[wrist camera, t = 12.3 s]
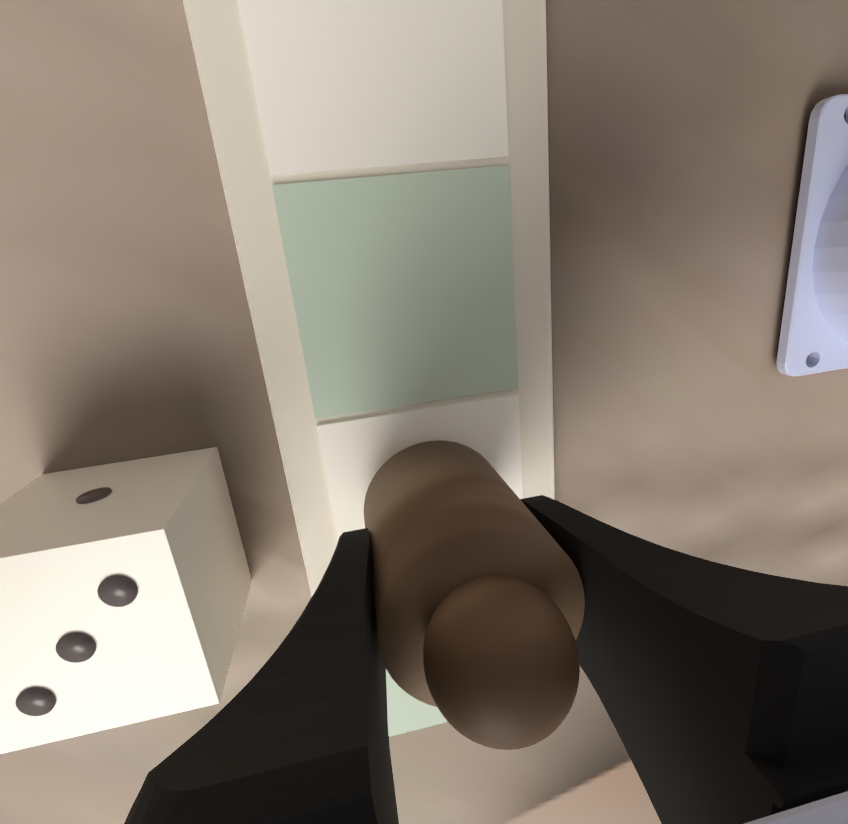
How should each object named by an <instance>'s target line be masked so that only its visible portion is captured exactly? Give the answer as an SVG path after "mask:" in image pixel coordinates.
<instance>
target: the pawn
mask: <svg viewBox="0 0 848 824" xmlns="http://www.w3.org/2000/svg"><path fill="white" fill-rule="evenodd" d="M364 523H365V528H368V531H369V539H370V547H371V555H372V581H373V598H374V610H375V619H376V627H377V636H378V645H379V650H380V654H381V658H382V660H383V663H384V665H385V668H386V669H387V671H388V673H389V674H390V676H391V678H392V679H393V680H394V681H395V682H396V683H397V685H398V686H399V687H400V688H402V689H403V690H404V691H405V692H406V693H408V694H409V695H411V696H412V697H414V698H415V699H417V700H419V701H421V702H424V703H426V704H428V705H431V706H435V707H438V709H439V711H440V712H441V713H442V715H443V716H444V717H445V719H446V720H447V721H448V722H449V723H450V724H451V725H452V726H453V727H454V728H455V729H456V730H457V731H458V732H460V733H461V734H462V735H464V736H465V737H467V738H469V739H470V740H472V741H473V742H476V743H478V744H481V745H483V746H486V747H490V748H494V749H506V750H512V749H520V748H524V747H528V746H531V745H533V744H535V743H537V742H539V741H541V740H543V739H544V738H546V737H547V736H549V735H550V734H551V733H552V732H554V731H555V730H556V729H557V728H558V726H559V725H560V724H561V723H562V721H563V720H564V719H565V717H566V716H567V714H568V713H569V711H570V709H571V707H572V704H573V701H574V698H575V696H576V693H577V688H578V682H579V672H580V670H579V655H578V650H577V645H576V639H577V637H578V634H579V631H580V628H581V626H582V621H583V616H584V607H585V597H584V589H583V584H582V580H581V577H580V575H579V572H578V570H577V568H576V567H575V565H574V563H573V562H572V560H571V559H570V557H569V556H568V555H567V554H566V553H565V552H564V550H563V549H562V548H561V547H560V546H559V545H558V543H557V542H556V541H555V540H554V539H553V537H552V536H551V535H550V534H549V533H548V532H547V530H546V529H545V528H544V527H543V526H542V525H541V523H540V522H539V521H538V520H537V519H536V518H535V516H534V515H533V514H532V513H531V512H530V510H529V509H528V508H527V507H526V506H525V505H524V503H523V502H522V501H521V500H520V499H519V498H518V496H517V495H516V494H515V493H514V492H513V490H512V489H511V488H510V487H509V486H508V485H507V483H506V482H505V481H504V480H503V479H502V478H501V476H500V475H499V474H498V473H497V472H496V471H495V469H494V468H493V467H492V466H491V465H490V463H489V462H488V461H487V460H486V459H485V458H484V457H483V456H482V455H481V454H479V453H478V452H476V451H475V450H473V449H472V448H470V447H468V446H465V445H463V444H460V443H456V442H451V441H441V440H436V441H426V442H422V443H418V444H415V445H412V446H409V447H407V448H405V449H403V450H401V451H399V452H398V453H396V454H395V455H393V456H392V457H391V458H390V459H388V460H387V461H386V462H385V463H384V464H383V465H382V466H381V467H380V468H379V470H378V471H377V473H376V474H375V475H374V477H373V479H372V481H371V482H370V484H369V487H368V489H367V492H366V496H365V501H364Z"/></svg>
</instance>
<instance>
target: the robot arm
mask: <svg viewBox="0 0 848 824" xmlns="http://www.w3.org/2000/svg"><path fill="white" fill-rule="evenodd" d="M845 112H846V118H845V120H844V113H845ZM807 356H808V359H807ZM806 359H807V361H806ZM844 368H848V94H838V95H835V96H832V97H829V98H826V99H823V100H821V101H820V102H819V103H817V104H816V105H815V107H814V109H813V110H812V112H811V115H810V119H809V125H808V132H807V139H806V147H805V154H804V162H803V169H802V176H801V184H800V191H799V199H798V206H797V213H796V221H795V228H794V236H793V243H792V251H791V258H790V265H789V273H788V280H787V288H786V295H785V302H784V310H783V317H782V325H781V332H780V339H779V347H778V354H777V369H778V371H779V372H780V373H782V374H784V375H789V376H801V375H807V374H814V373H820V372H826V371H832V370H838V369H844ZM520 500H521V501H522V502H523V503H524V505H525V506H526V507H527V508H528V509H529V510H530V512H531V513H532V514H533V515H534V516H535V518H536V519H537V520H538V521H539V522H540V523H541V525H542V526H543V527H544V528H545V529H546V530H547V532H548V533H549V534H550V535H551V536H552V537H553V539H554V540H555V541H556V542H557V543H558V545H559V546H560V547H561V548H562V549H563V550H564V552H565V553H566V554H567V555H568V556H569V557H570V559H571V560H572V562H573V563H574V565H575V567H576V568H577V570H578V572H579V575H580V577H581V580H582V584H583V589H584V597H585V607H584V616H583V621H582V626H581V628H580V631H579V634H578V637H577V639H576V645H577V650H578V655H579V664H580V666H581V668H582V669H583V671H584V672H585V674H586V675H587V677H588V678H589V680H590V682H591V684H592V685H593V687H594V689H595V690H596V692H597V694H598V695H599V697H600V699H601V701H602V703H603V705H604V707H605V709H606V711H607V713H608V715H609V717H610V719H611V720H612V722H613V724H614V726H615V728H616V730H617V732H618V734H619V736H620V738H621V740H622V742H623V744H624V746H625V748H626V750H627V752H628V754H629V756H630V758H631V760H632V762H633V764H634V766H635V768H636V770H637V772H638V774H639V777H640V779H641V781H642V782H643V785H644V787H645V789H646V791H647V793H648V795H649V797H650V800H651V802H652V804H653V806H654V808H655V810H656V812H657V814H658V817H659V819H660V821H661V823H662V824H848V586H839V585H830V584H822V583H814V582H808V581H802V580H796V579H790V578H785V577H779V576H773V575H768V574H763V573H758V572H753V571H748V570H744V569H740V568H736V567H732V566H728V565H723V564H719V563H715V562H711V561H708V560H704V559H701V558H697V557H694V556H690V555H687V554H684V553H681V552H678V551H675V550H672V549H668V548H665V547H662V546H660V545H657V544H654V543H651V542H649V541H646V540H644V539H641V538H639V537H636V536H634V535H631V534H628V533H626V532H624V531H621V530H619V529H617V528H614V527H612V526H610V525H607V524H605V523H603V522H601V521H599V520H596V519H594V518H592V517H590V516H588V515H586V514H584V513H582V512H579V511H577V510H575V509H573V508H571V507H569V506H567V505H565V504H563V503H560V502H558V501H556V500H554V499H551V498H549V497H546V496H544V495H540V496H534V497H529V498H524V499H520ZM124 824H399V822H398V814H397V806H396V798H395V790H394V782H393V773H392V765H391V757H390V749H389V735H388V717H387V689H386V668H385V665H384V663H383V660H382V658H381V654H380V650H379V645H378V636H377V627H376V619H375V610H374V598H373V581H372V555H371V547H370V539H369V531H368V528H364V529H359V530H354V531H348V532H343V533H342V535H341V536H340V537H339V540H338V543H337V546H336V549H335V551H334V554H333V556H332V558H331V561H330V563H329V565H328V567H327V569H326V571H325V573H324V575H323V577H322V579H321V581H320V583H319V585H318V587H317V589H316V591H315V593H314V594H313V596H312V598H311V599H310V601H309V603H308V605H307V606H306V608H305V610H304V611H303V613H302V615H301V616H300V618H299V619H298V621H297V622H296V624H295V625H294V627H293V628H292V630H291V631H290V633H289V634H288V635H287V637H286V638H285V639H284V641H283V642H282V643H281V645H280V646H279V647H278V649H277V650H276V651H275V652H274V654H273V655H272V656H271V657H270V659H269V660H268V661H267V662H266V663H265V665H264V666H263V667H262V668H261V669H260V670H259V672H258V673H257V674H256V675H255V676H254V677H253V679H252V680H251V681H250V682H249V683H248V684H247V685H246V686H245V687H244V688H243V689H242V690H241V691H240V692H239V693H238V694H237V695H236V696H235V697H234V698H233V699H232V700H231V701H230V702H229V703H228V704H227V705H226V706H225V707H224V708H223V709H222V710H221V711H220V712H219V713H218V714H217V715H216V716H215V717H214V718H213V719H211V720H210V721H209V722H208V723H207V724H206V725H205V726H204V727H203V728H202V729H200V730H199V731H198V732H197V733H196V734H194V735H193V736H192V737H191V738H190V739H189V740H187V741H186V742H185V743H184V744H183V745H181V746H180V747H179V748H178V749H177V750H176V751H174V752H173V753H172V754H171V755H170V756H168V757H167V758H166V759H165V760H164V761H162V762H161V763H160V764H159V765H157V766H156V767H155V768H154V769H152V770H151V771H150V772H149V773H148V774H147V777H146V779H145V781H144V783H143V786H142V788H141V790H140V792H139V794H138V796H137V798H136V800H135V802H134V804H133V806H132V808H131V810H130V812H129V814H128V817H127V819H126V821H125V823H124Z"/></svg>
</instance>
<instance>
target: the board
mask: <svg viewBox="0 0 848 824" xmlns="http://www.w3.org/2000/svg"><path fill="white" fill-rule="evenodd" d="M183 4H184V8H185V13H186V17H187V22H188V27H189V31H190V36H191V41H192V45H193V50H194V54H195V59H196V64H197V68H198V73H199V78H200V82H201V87H202V92H203V96H204V101H205V105H206V110H207V115H208V119H209V124H210V129H211V133H212V138H213V142H214V147H215V152H216V156H217V161H218V166H219V170H220V175H221V179H222V184H223V189H224V193H225V198H226V203H227V207H228V212H229V216H230V221H231V226H232V230H233V235H234V240H235V244H236V249H237V253H238V258H239V263H240V267H241V272H242V277H243V281H244V286H245V290H246V295H247V300H248V304H249V309H250V314H251V318H252V323H253V327H254V332H255V337H256V341H257V346H258V351H259V355H260V360H261V364H262V369H263V374H264V378H265V383H266V388H267V392H268V397H269V401H270V406H271V411H272V415H273V420H274V425H275V429H276V434H277V438H278V443H279V448H280V452H281V457H282V462H283V466H284V471H285V475H286V480H287V485H288V489H289V494H290V499H291V503H292V508H293V512H294V517H295V522H296V526H297V531H298V536H299V540H300V545H301V549H302V554H303V559H304V563H305V568H306V573H307V577H308V582H309V586H310V591H311V596H313V594H314V593H315V591H316V589H317V587H318V585H319V583H320V581H321V579H322V577H323V575H324V573H325V571H326V569H327V567H328V565H329V563H330V561H331V558H332V556H333V554H334V551H335V549H336V546H337V543H338V540H339V537H340V536H341V535H342V533H343V532H348V531H354V530H359V529H364V528H365V523H364V501H365V496H366V492H367V489H368V487H369V484H370V482H371V481H372V479H373V477H374V475H375V474H376V473H377V471H378V470H379V468H380V467H381V466H382V465H383V464H384V463H385V462H386V461H387V460H388V459H390V458H391V457H392V456H393V455H395V454H396V453H398V452H399V451H401V450H403V449H405V448H407V447H409V446H412V445H415V444H418V443H422V442H426V441H436V440H441V441H451V442H456V443H460V444H463V445H465V446H468V447H470V448H472V449H473V450H475V451H476V452H478V453H479V454H481V455H482V456H483V457H484V458H485V459H486V460H487V461H488V462H489V463H490V465H491V466H492V467H493V468H494V469H495V471H496V472H497V473H498V474H499V475H500V476H501V478H502V479H503V480H504V481H505V482H506V483H507V485H508V486H509V487H510V488H511V489H512V490H513V492H514V493H515V494H516V495H517V496H518V498H519V499H524V498H529V497H534V496H540V495H544V496H546V497H549V498H551V499H554V500H555V495H554V439H553V383H552V327H551V271H550V215H549V159H548V102H547V46H546V0H183ZM386 689H387V717H388V735H389V737H390V736H394V735H398V734H402V733H406V732H410V731H414V730H418V729H422V728H425V727H429V726H433V725H437V724H441V723H445V722H448V721H447V720H446V719H445V717H444V716H443V715H442V713H441V712H440V711H439V709H438V707H435V706H431V705H428V704H426V703H424V702H421V701H419V700H417V699H415V698H414V697H412V696H411V695H409V694H408V693H406V692H405V691H404V690H403V689H402V688H400V687H399V686H398V685H397V683H396V682H395V681H394V680H393V679H392V678H391V676H390V674H389V673H388V671H387V669H386Z"/></svg>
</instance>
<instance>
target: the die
mask: <svg viewBox="0 0 848 824" xmlns="http://www.w3.org/2000/svg"><path fill="white" fill-rule="evenodd" d="M251 581H252V579H251V575H250V571H249V567H248V563H247V560H246V556H245V552H244V548H243V544H242V540H241V537H240V533H239V529H238V525H237V521H236V517H235V514H234V510H233V506H232V502H231V498H230V494H229V491H228V487H227V483H226V479H225V475H224V471H223V468H222V464H221V460H220V456H219V452H218V448H217V447H213V448H207V449H200V450H194V451H188V452H181V453H175V454H168V455H162V456H156V457H149V458H143V459H137V460H130V461H124V462H117V463H111V464H105V465H98V466H92V467H86V468H79V469H73V470H66V471H60V472H54V473H47V474H42V475H41V476H40V477H38V478H37V479H35V480H34V481H33V482H31V483H30V484H28V485H27V486H26V487H24V488H23V489H21V490H20V491H19V492H17V493H16V494H14V495H13V496H12V497H10V498H9V499H7V500H6V501H5V502H3V503H2V504H0V754H3V753H7V752H12V751H16V750H20V749H25V748H29V747H33V746H38V745H42V744H46V743H51V742H55V741H59V740H64V739H68V738H72V737H77V736H81V735H85V734H89V733H94V732H98V731H102V730H107V729H111V728H115V727H120V726H124V725H128V724H133V723H137V722H141V721H146V720H150V719H154V718H159V717H163V716H167V715H172V714H176V713H180V712H184V711H189V710H193V709H197V708H202V707H206V706H210V705H215V704H219V703H220V699H221V695H222V691H223V688H224V684H225V680H226V676H227V672H228V668H229V665H230V661H231V657H232V653H233V649H234V646H235V642H236V638H237V634H238V630H239V626H240V623H241V619H242V615H243V611H244V607H245V604H246V600H247V596H248V592H249V588H250V584H251Z"/></svg>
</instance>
